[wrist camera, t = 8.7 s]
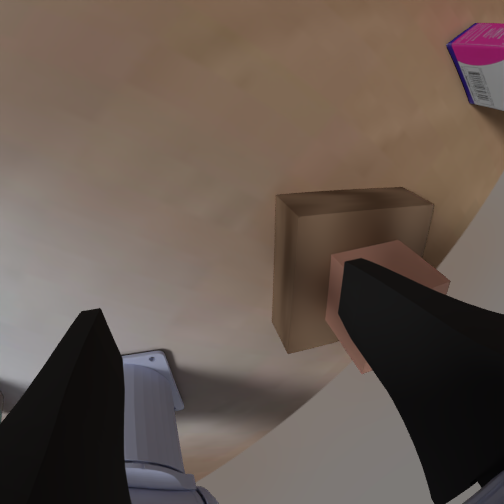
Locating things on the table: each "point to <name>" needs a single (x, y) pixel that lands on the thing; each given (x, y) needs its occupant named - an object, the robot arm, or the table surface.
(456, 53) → the supplement box
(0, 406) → the coffee cup
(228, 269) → the table surface
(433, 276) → the terracotta cube
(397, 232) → the walnut block
